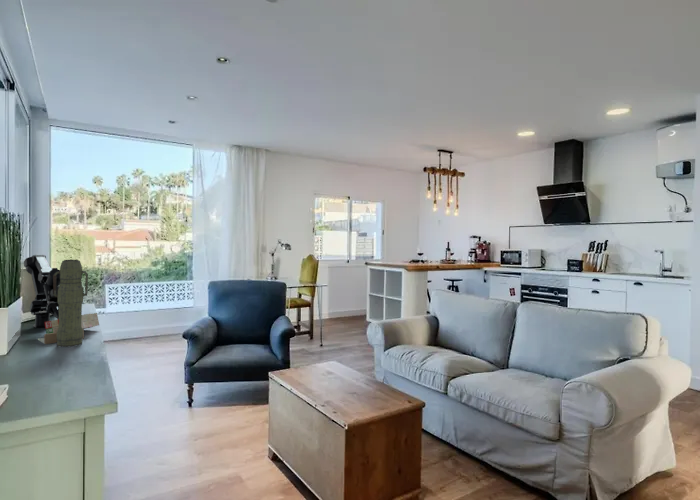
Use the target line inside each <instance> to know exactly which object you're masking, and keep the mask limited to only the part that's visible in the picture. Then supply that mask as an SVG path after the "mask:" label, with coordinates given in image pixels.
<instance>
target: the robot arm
mask: <svg viewBox="0 0 700 500" xmlns="http://www.w3.org/2000/svg"><path fill="white" fill-rule="evenodd" d="M23 267H24V268H25V269H26V272H27V273H28V274H30V275H31V279H32V284H33V288H34V292H35V293H34V294H35V297H34V300H32V301H31V303H30V305H29V313H30V314H31V315H33V316H35V318H34V320H35V321H34V322H35V323H34V324H33V325H32V326H33V328H45V322H47V321H51V320H50V319H51V315H52V316H53V317H55V319H56V320H57V319H59V304H58V298H57V297H55V296H54V295H53V275H54V274H55V273H56V272H59V271H60V269H58V267H51V266H50V263H49V262H48V260H47V256H46V255H45V254H34V255H32V256H29V257H26V258H25V259H24V261H23ZM59 285H60V274H59V273H58V274H57V275H56V294H58V288H59Z"/></svg>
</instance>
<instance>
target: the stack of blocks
mask: <svg viewBox="0 0 700 500" xmlns="http://www.w3.org/2000/svg"><path fill="white" fill-rule="evenodd" d="M99 321H100V320H99V317H98V313H97V312H95V313H86V314H82V320H81V327H82V329H84V330H86V329H91V328H94V327H97V326H100V322H99ZM58 327H59V319H57V318H56V319H52V320H50V321H47V322H45V327H44V328H45V334H49V333H57V330H58Z"/></svg>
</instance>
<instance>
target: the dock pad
mask: <svg viewBox="0 0 700 500" xmlns="http://www.w3.org/2000/svg"><path fill="white" fill-rule="evenodd" d="M82 330H83V338H82V340H84V339H85V329H82ZM37 340H38V341H39V342H41V343H42V344H44V345H49V344H57V333H49V334H46V333H44V337H43V338H42V337H41V338H37Z"/></svg>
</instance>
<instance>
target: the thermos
mask: <svg viewBox="0 0 700 500" xmlns="http://www.w3.org/2000/svg"><path fill="white" fill-rule="evenodd" d="M59 270H60V271H59V272H56V273H55V274H54V275H53V295H54V296H55V297H57V298H58V304H59V327H58V330H57V343H56V347H58V348H71V347H77V346H80V345H82V344H83V339H82V338H83V330H82V327H81V320H82V315H83V313H82V312H83V309H82V308H83V305H82V304H83V302H84V297H87V296H88V291H89V287H88V286H89V285H88V284H89V274H88V272H87V271H85V270H83V266H82V263H81V261H80V260H78V259H64V260H62V262H60V266H59ZM58 273H59V274H60V285H59V288H58V294H56V275H57V274H58ZM83 274H84V275H85V284H84V285H85V289H84V287H83V283H82V278H83ZM84 290H85V291H84Z"/></svg>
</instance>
